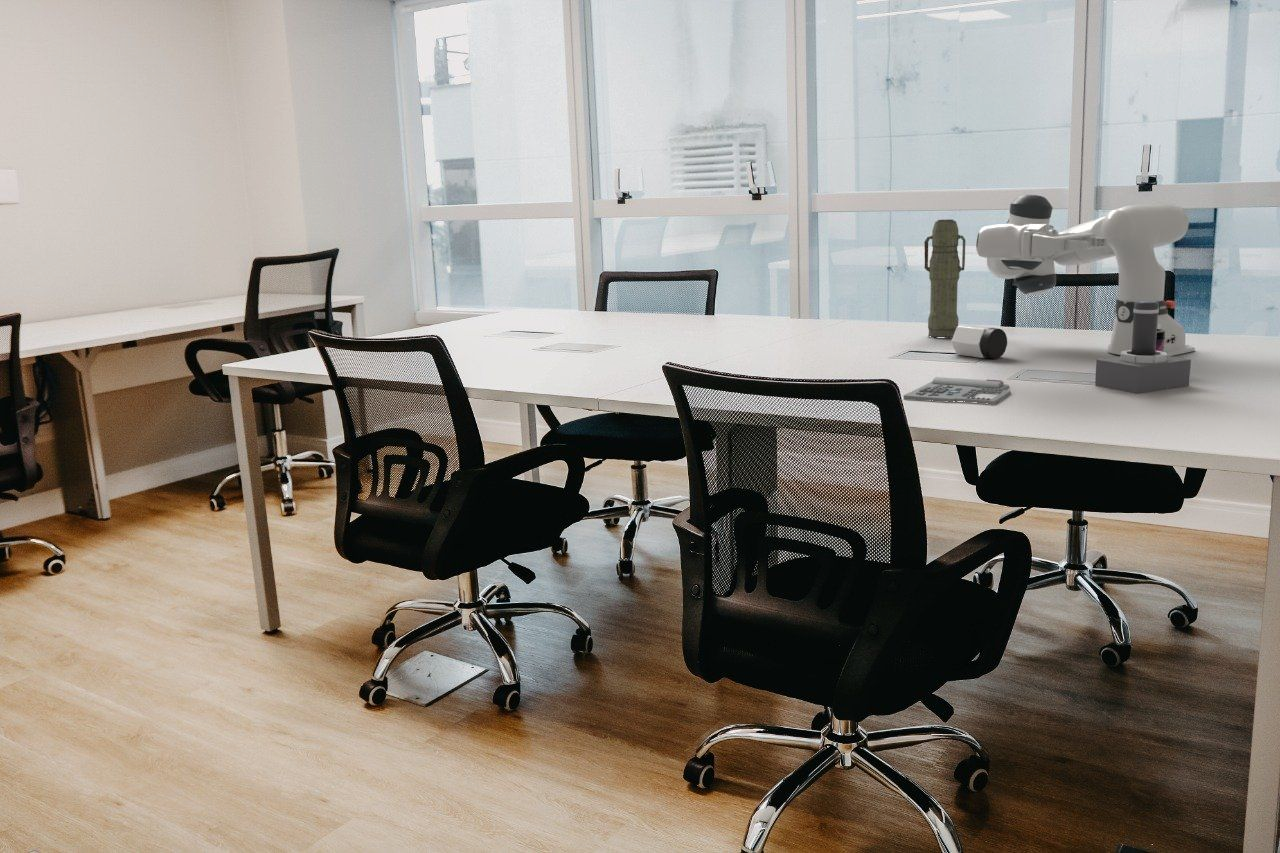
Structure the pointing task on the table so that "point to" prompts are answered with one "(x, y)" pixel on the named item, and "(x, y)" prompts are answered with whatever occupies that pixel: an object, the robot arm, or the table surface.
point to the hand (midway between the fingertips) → (1097, 243)
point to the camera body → (1142, 372)
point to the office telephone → (959, 390)
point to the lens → (1145, 328)
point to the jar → (979, 341)
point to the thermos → (944, 277)
